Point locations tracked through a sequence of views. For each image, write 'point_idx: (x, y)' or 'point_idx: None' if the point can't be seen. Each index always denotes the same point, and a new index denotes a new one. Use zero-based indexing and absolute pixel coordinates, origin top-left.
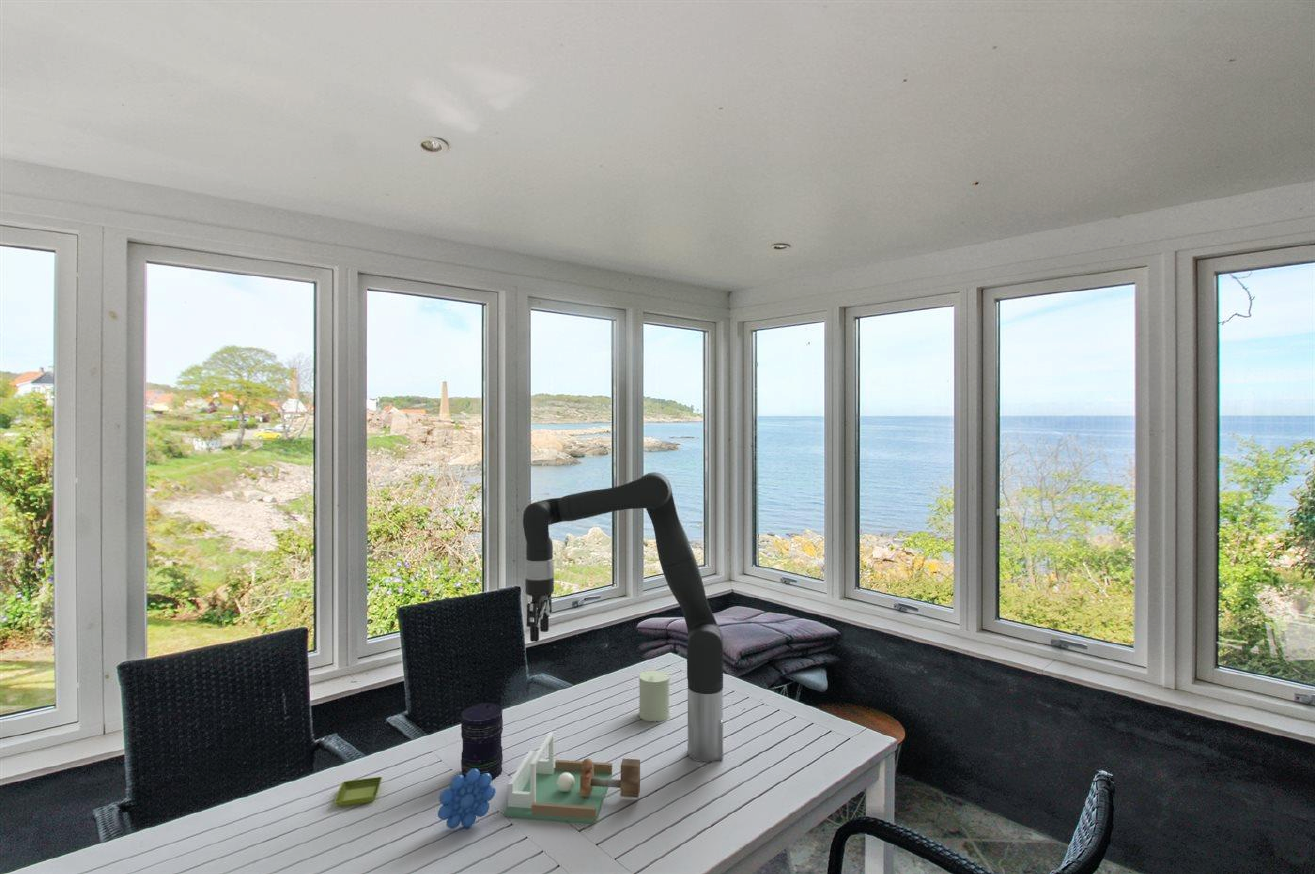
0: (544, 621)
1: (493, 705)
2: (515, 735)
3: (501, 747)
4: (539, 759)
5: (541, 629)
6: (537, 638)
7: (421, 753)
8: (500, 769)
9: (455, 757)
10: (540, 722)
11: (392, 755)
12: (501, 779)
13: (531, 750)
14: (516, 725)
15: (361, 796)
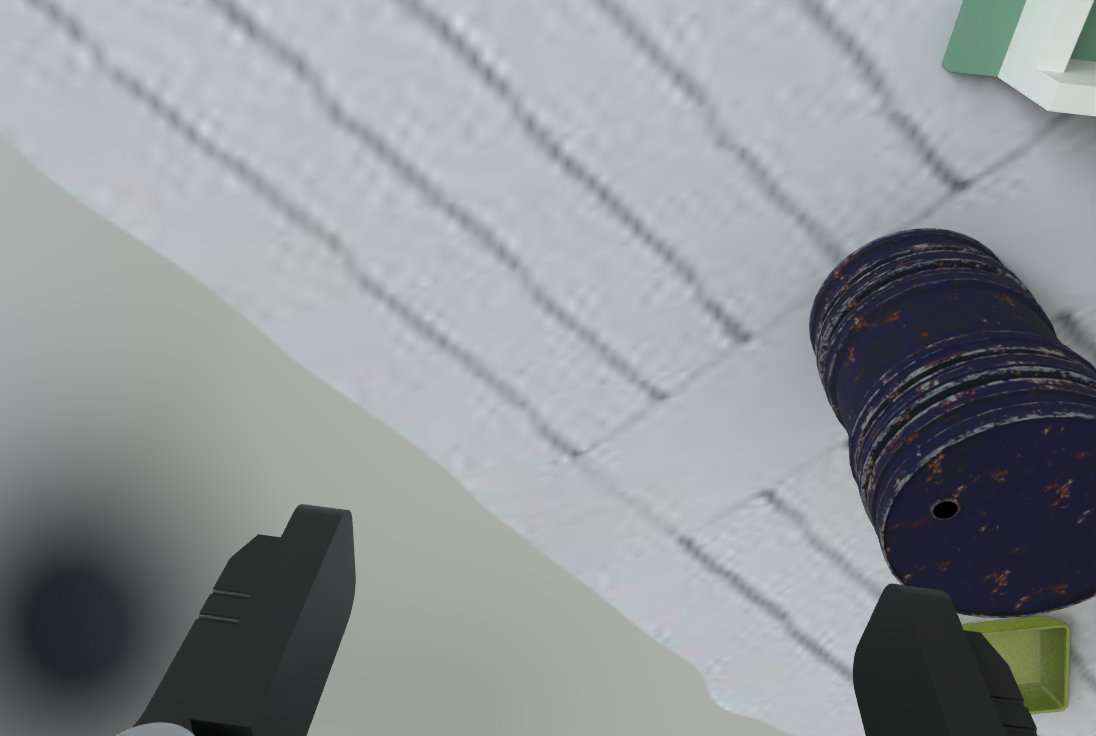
0: (289, 708)
1: (917, 480)
2: (528, 243)
3: (937, 288)
4: (1062, 28)
5: (345, 611)
6: (950, 632)
7: (698, 566)
8: (943, 240)
9: (745, 450)
10: (357, 136)
11: (707, 641)
12: (1001, 213)
13: (1057, 99)
14: (413, 261)
15: (997, 649)
